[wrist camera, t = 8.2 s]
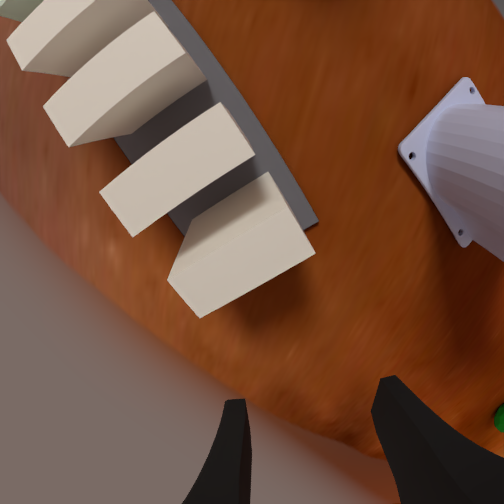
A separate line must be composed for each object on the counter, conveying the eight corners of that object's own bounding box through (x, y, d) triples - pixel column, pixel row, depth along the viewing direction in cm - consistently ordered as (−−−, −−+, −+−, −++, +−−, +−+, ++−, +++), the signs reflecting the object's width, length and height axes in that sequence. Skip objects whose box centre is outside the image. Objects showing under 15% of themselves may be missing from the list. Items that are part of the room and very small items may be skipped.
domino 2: (207, 79, 14) (185, 52, 8) (131, 133, 15) (68, 147, 9) (187, 51, 14) (153, 10, 7) (112, 106, 15) (43, 106, 8)
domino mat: (317, 219, 18) (318, 221, 18) (218, 277, 19) (217, 280, 19) (122, -56, 10) (121, -57, 10) (36, 14, 11) (34, 13, 11)
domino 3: (248, 140, 16) (255, 154, 9) (171, 191, 17) (133, 237, 10) (227, 109, 15) (220, 101, 9) (151, 162, 16) (99, 191, 10)
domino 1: (168, 26, 13) (127, -23, 6) (96, 81, 14) (22, 70, 7) (150, 3, 12) (104, -49, 6) (80, 58, 13) (6, 40, 7)
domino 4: (286, 201, 17) (315, 253, 11) (212, 246, 18) (199, 318, 12) (268, 171, 17) (287, 206, 10) (192, 219, 17) (167, 280, 11)
